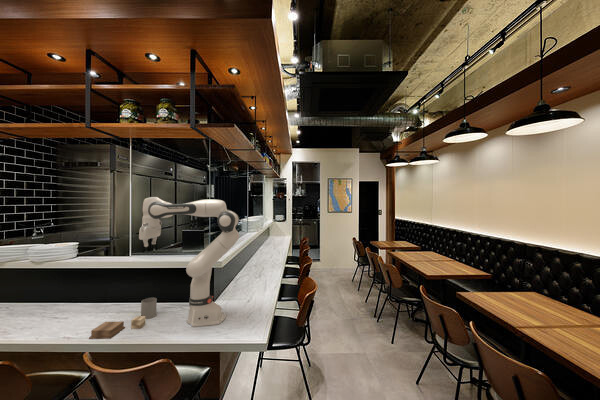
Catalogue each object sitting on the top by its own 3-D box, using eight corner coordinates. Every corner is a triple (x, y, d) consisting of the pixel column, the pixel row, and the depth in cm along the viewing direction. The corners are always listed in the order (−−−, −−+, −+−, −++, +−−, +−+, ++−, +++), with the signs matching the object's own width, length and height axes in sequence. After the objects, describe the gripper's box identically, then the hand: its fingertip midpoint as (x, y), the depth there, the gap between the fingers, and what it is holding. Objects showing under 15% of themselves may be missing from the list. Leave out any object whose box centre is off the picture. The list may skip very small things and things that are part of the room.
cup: (138, 319, 149) (139, 303, 150) (143, 314, 157) (143, 298, 158) (154, 318, 152) (154, 301, 152) (158, 312, 160) (158, 297, 160)
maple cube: (145, 324, 143) (145, 316, 143) (140, 329, 138) (140, 320, 138) (136, 324, 143) (136, 316, 143) (131, 329, 138) (131, 320, 138)
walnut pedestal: (125, 328, 139) (125, 320, 139) (111, 338, 128) (111, 330, 128) (105, 328, 138) (105, 321, 139) (88, 338, 127) (89, 331, 127)
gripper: (147, 224, 140) (147, 248, 140) (163, 222, 161) (162, 243, 160) (136, 224, 139) (135, 248, 139) (152, 222, 160) (152, 243, 159)
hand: (150, 245), depth 150 cm, fingers open, 8 cm apart
